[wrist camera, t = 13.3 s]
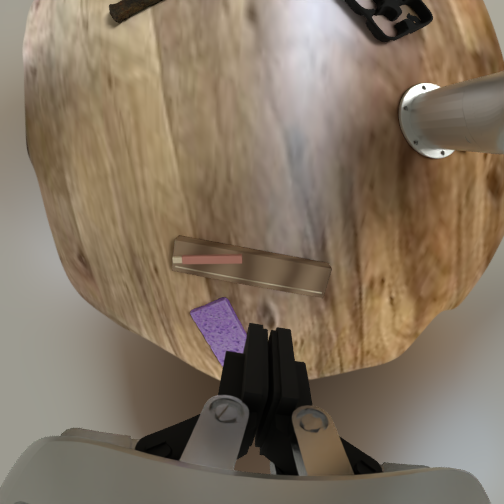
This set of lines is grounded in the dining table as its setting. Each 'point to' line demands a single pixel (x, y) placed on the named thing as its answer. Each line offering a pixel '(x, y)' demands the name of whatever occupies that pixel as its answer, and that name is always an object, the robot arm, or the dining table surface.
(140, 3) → the hand tool
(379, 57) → the dining table surface
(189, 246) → the walnut board
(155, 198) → the dining table surface
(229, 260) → the carpenters pencil
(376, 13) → the black openwork frame
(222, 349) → the sponges
